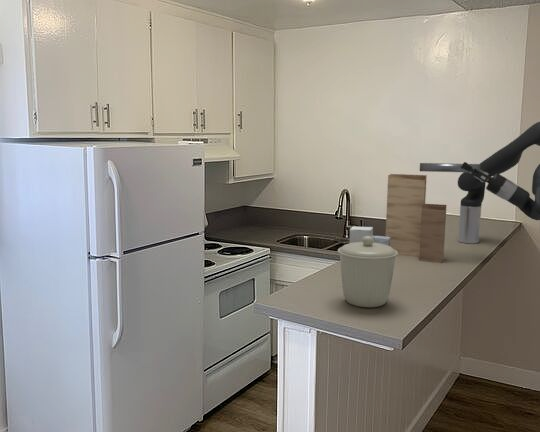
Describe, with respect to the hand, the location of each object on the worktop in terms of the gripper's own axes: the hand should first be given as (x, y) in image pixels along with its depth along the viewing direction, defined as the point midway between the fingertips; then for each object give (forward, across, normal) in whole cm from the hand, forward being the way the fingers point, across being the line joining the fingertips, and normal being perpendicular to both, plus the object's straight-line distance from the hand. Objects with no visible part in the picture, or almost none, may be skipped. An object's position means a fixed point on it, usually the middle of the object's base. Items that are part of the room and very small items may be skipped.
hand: (462, 164), depth 222 cm
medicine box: (+7, +8, +49) cm, 50 cm away
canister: (+3, +69, +46) cm, 83 cm away
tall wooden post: (-11, +4, +39) cm, 40 cm away
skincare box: (+11, +27, +51) cm, 59 cm away
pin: (+3, 0, +5) cm, 6 cm away
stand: (0, -4, +45) cm, 45 cm away
